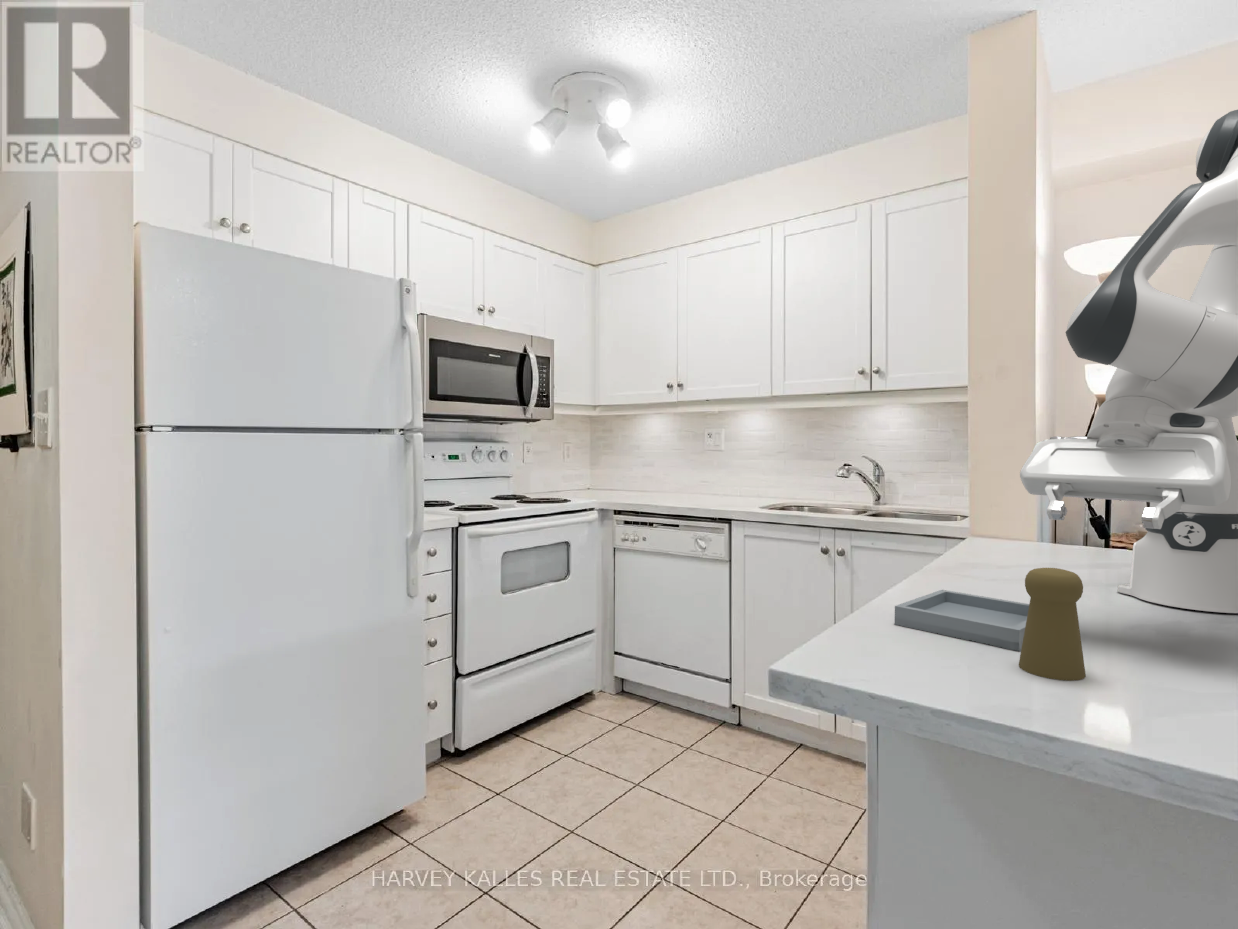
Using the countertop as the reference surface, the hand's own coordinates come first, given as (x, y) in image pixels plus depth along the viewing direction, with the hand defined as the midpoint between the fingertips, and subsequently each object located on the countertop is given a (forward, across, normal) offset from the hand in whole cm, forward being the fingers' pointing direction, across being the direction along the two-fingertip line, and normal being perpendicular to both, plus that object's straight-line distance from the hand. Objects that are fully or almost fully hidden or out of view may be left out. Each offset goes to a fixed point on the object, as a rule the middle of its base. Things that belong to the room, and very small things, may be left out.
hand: (1100, 520), depth 76 cm
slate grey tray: (+11, -13, +10) cm, 20 cm away
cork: (+19, 0, +3) cm, 20 cm away
